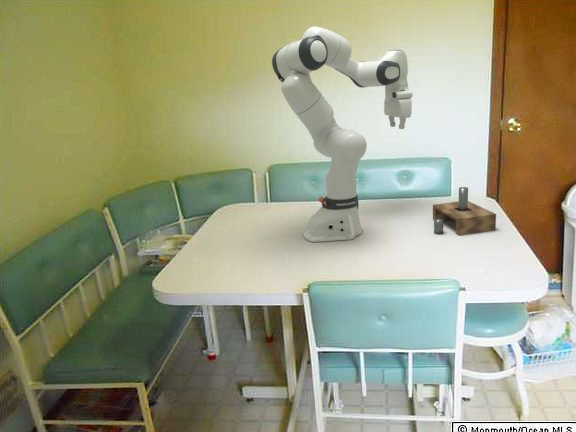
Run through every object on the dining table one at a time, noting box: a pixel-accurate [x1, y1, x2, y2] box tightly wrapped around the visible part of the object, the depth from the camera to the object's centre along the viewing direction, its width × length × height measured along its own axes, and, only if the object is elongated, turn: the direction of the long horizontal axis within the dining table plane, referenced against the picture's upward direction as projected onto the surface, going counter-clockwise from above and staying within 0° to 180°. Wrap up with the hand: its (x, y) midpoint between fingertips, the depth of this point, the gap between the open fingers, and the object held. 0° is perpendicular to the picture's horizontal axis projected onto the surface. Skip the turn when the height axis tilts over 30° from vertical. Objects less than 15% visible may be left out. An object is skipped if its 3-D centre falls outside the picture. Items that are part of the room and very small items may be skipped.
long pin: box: [458, 186, 469, 212], centre depth 178 cm, size 3×3×14 cm
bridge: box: [432, 200, 497, 236], centre depth 180 cm, size 14×20×6 cm
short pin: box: [433, 218, 444, 235], centre depth 173 cm, size 3×3×5 cm
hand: (397, 127), depth 197 cm, fingers open, 8 cm apart
